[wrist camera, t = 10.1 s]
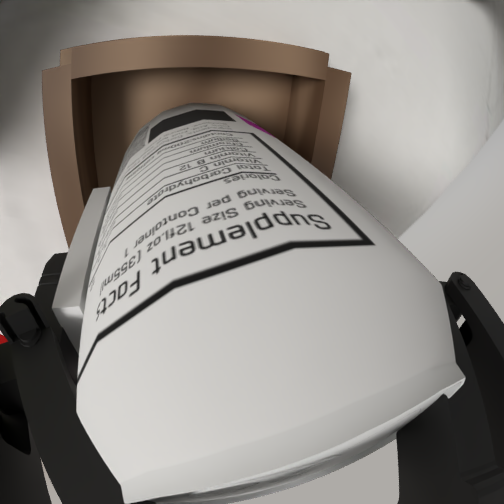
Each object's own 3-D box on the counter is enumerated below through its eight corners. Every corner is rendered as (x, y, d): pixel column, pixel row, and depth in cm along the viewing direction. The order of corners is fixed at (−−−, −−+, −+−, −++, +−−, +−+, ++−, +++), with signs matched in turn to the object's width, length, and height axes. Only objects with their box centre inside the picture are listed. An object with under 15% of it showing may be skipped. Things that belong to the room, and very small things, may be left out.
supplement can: (284, 122, 15) (527, 320, 4) (239, 241, 19) (343, 469, 8) (141, 87, 12) (-43, 416, 1) (116, 226, 16) (113, 511, 5)
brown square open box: (313, 51, 16) (361, 54, 12) (282, 243, 25) (309, 285, 21) (67, 50, 11) (33, 48, 7) (93, 261, 21) (84, 312, 16)
